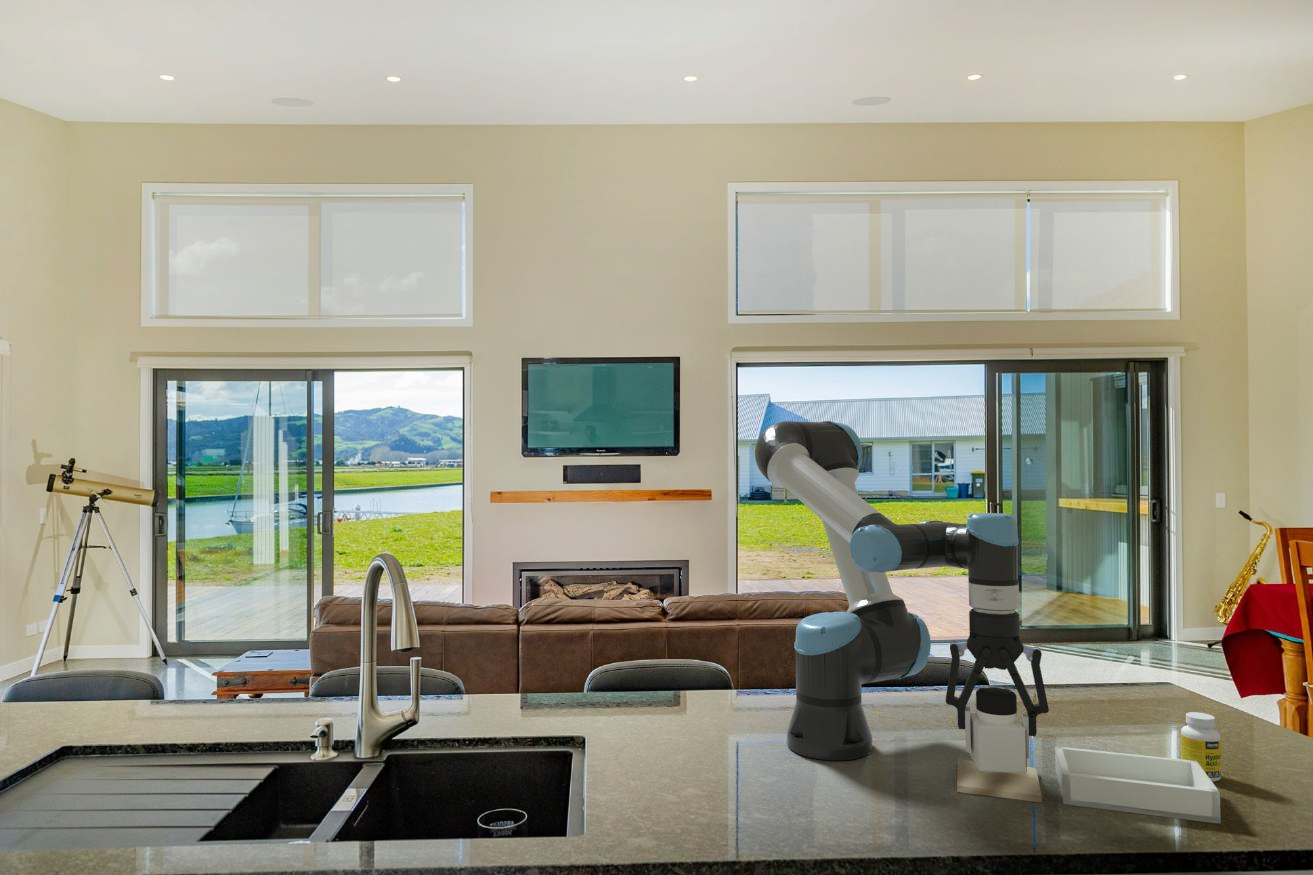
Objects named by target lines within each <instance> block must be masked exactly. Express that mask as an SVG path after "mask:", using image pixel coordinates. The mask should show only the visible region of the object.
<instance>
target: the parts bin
mask: <svg viewBox="0 0 1313 875" xmlns="http://www.w3.org/2000/svg"><path fill="white" fill-rule="evenodd" d="M1054 766H1055V767H1054V770H1055V772H1054V773H1055V777H1056V780H1057V784H1058V788H1059V792H1060V795H1061V799H1062V803H1063V805H1067V806H1068V805H1069V806H1076V807H1083V808H1084V807H1085V808H1093V809H1100V810H1107V811H1108V810H1109V811H1117V812H1123V813H1133V814H1140V815H1146V816H1147V815H1148V816H1155V817H1156V816H1157V817H1163V818H1171V819H1180V820H1188V821H1195V822H1204V823H1211V824H1218V825H1221V824H1222V822H1221V819H1222V818H1221V793H1220V792H1221V791H1220V790H1219V789H1218V788H1217V787H1216V785H1215V784H1214V782H1212V781H1211V780H1210V778H1209V777H1208V776H1207V774H1206V773H1205V772H1204V770H1203V769H1202V768H1201V766H1200V765H1199V764H1198V762H1197V761H1192V760H1183V759H1181V758H1173V757H1162V756H1153V755H1152V756H1151V755H1143V754H1133V753H1121V752H1115V751H1104V750H1097V749H1096V750H1093V749H1086V748H1077V747H1075V748H1074V747H1066V746H1057V745H1055V746H1054Z"/></svg>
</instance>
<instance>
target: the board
mask: <svg viewBox="0 0 1313 875" xmlns="http://www.w3.org/2000/svg"><path fill="white" fill-rule="evenodd" d="M957 761H958V762H957V778H956V779H957V780H956V792H957V793H963V794H971V795H979V796H988V797H994V798H1003V799H1009V800H1010V799H1011V800H1019V801H1026V802H1033V803H1034V802H1035V803H1042V802H1043V800H1042V799H1043V797H1042V790H1041V787H1040V786H1041V785H1040V782H1039V776H1038V771H1037V768H1036V767H1031V766H1027V773H1025V774H1024V773H1003V772H981V771H980V770H979V769H978V768H977V766H976V764H975V763H974V761H973V760H968V759H959V758H958V759H957Z"/></svg>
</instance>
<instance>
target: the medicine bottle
mask: <svg viewBox="0 0 1313 875" xmlns="http://www.w3.org/2000/svg"><path fill="white" fill-rule="evenodd" d="M1017 700H1018V696H1017V694H1016V693H1015V692H1014V691H1012V690H1010V689H1009V688H1005V687H1001V686H994V685H993V686H989V685H988V686H983V687H980V688H978V689H977V690H976V691H975V708H976V709H975V710H976V711H975V712H970V728H971V752H969V757H970V758H971V759H972V760H971V761H974V763H975V764H976V766H977V768H978V769H979V770H980V771H981V772H1003V773H1024V774H1025V773H1027V767H1028V766H1027V763H1028V760H1027V756H1026V728H1025V727H1024V726H1023V723H1021V722H1020V721H1019V719H1018V718H1017V717H1018V705H1017V703H1018V702H1017Z"/></svg>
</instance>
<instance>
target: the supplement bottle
mask: <svg viewBox="0 0 1313 875" xmlns="http://www.w3.org/2000/svg"><path fill="white" fill-rule="evenodd" d="M1185 723H1186V724H1187V725H1184V726H1182V728H1181V730H1180V755H1181V757H1180V759H1183V760H1192V761H1197V762H1198V764H1199V765H1200V766H1201V768H1202V769H1203V770H1204V772H1205V773H1206V774H1207V776H1208V777H1209V778H1210V780H1211V781H1212V782H1213V783H1214V782H1218V781H1220V780H1221V779H1222V758H1221V757H1222V754H1221V753H1222V752H1221V751H1222V750H1221V749H1222V747H1221V746H1222V745H1221V744H1222V742H1221V734H1220V733H1219V731H1217V730H1216V729H1214V728H1215V727H1216V717H1215V716H1214V715H1211V714H1208V713H1205V712H1195V711H1189V712H1187V713H1186V714H1185Z"/></svg>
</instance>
